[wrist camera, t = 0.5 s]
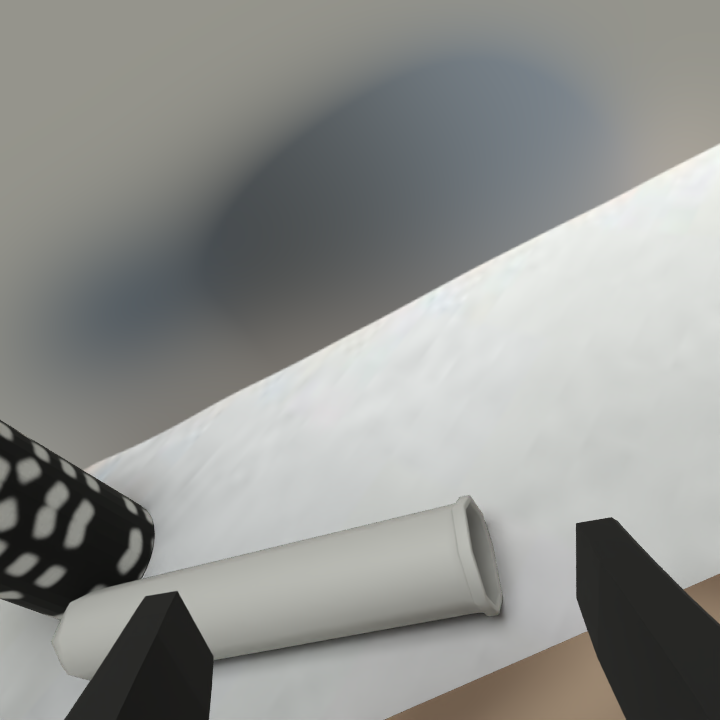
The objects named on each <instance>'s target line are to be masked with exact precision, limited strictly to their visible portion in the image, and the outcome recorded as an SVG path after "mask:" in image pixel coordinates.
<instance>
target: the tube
mask: <svg viewBox="0 0 720 720" xmlns="http://www.w3.org/2000/svg"><path fill="white" fill-rule="evenodd" d="M173 591H178V593H179V595H180V596H181V598H182V600H183V602H184V604H185V605H186V607H187V609H188V611H189V613H190V614H191V616H192V618H193V620H194V622H195V624H196V625H197V627H198V629H199V631H200V633H201V634H202V636H203V638H204V640H205V642H206V643H207V645H208V647H209V649H210V651H211V653H212V654H213V656H214V660H218V659H223V658H229V657H234V656H240V655H245V654H251V653H256V652H262V651H267V650H273V649H279V648H284V647H290V646H295V645H301V644H306V643H312V642H317V641H323V640H329V639H334V638H340V637H345V636H351V635H356V634H362V633H367V632H373V631H378V630H384V629H390V628H395V627H401V626H406V625H412V624H417V623H423V622H428V621H434V620H439V619H445V618H451V617H456V616H462V615H467V614H473V613H485V614H486V615H487V616H488V617H489V616H495V615H498V614H499V613H500V608H501V604H502V599H503V596H502V591H501V585H500V580H499V575H498V570H497V565H496V559H495V554H494V549H493V545H492V542H491V539H490V536H489V533H488V529H487V526H486V523H485V520H484V517H483V513H482V512H481V510H480V509H479V507H478V506H477V505H476V503H475V502H474V500H473V499H472V497H471V496H470V495H467V496H463V497H459V499H458V500H457V501H456V503H454V504H451V505H447V506H443V507H439V508H434V509H430V510H426V511H422V512H418V513H414V514H410V515H405V516H401V517H397V518H393V519H389V520H385V521H381V522H376V523H372V524H368V525H364V526H360V527H356V528H351V529H347V530H343V531H339V532H335V533H331V534H327V535H322V536H318V537H314V538H310V539H306V540H302V541H298V542H293V543H289V544H285V545H281V546H277V547H273V548H269V549H264V550H260V551H256V552H252V553H248V554H244V555H239V556H235V557H231V558H227V559H223V560H219V561H215V562H210V563H206V564H202V565H198V566H194V567H190V568H186V569H181V570H177V571H173V572H169V573H165V574H161V575H156V576H152V577H148V578H144V579H140V580H136V581H132V582H127V583H123V584H119V585H115V586H111V587H107V588H103V589H98V590H95V591H93V592H91V593H89V594H87V595H85V596H82V597H80V598H78V599H76V600H74V601H72V602H70V603H69V605H68V607H67V609H66V611H65V612H64V614H63V616H62V619H61V621H60V623H59V625H58V628H57V630H56V632H55V634H54V636H53V639H52V641H51V642H52V645H53V647H54V649H55V652H56V654H57V656H58V658H59V661H60V663H61V665H62V667H63V668H64V670H65V671H66V673H67V674H68V675H71V676H75V677H79V678H82V679H86V680H90V681H91V679H92V678H93V676H94V674H95V673H96V671H97V670H98V668H99V667H100V665H101V664H102V662H103V660H104V659H105V657H106V656H107V654H108V653H109V651H110V650H111V648H112V646H113V645H114V643H115V642H116V640H117V639H118V637H119V636H120V634H121V632H122V631H123V629H124V628H125V626H126V625H127V623H128V621H129V620H130V618H131V617H132V615H133V614H134V612H135V611H136V609H137V608H138V606H139V605H140V603H141V602H142V600H143V599H144V597H145V596H149V595H155V594H161V593H167V592H173Z"/></svg>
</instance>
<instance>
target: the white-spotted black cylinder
mask: <svg viewBox="0 0 720 720" xmlns="http://www.w3.org/2000/svg"><path fill="white" fill-rule="evenodd" d="M153 542H154V525H153V522H152V519H151V516H150V515H149V513H148V512H147V510H146V509H144V508H143V507H142V506H141V505H139V504H137V503H136V502H134V501H132V500H131V499H129V498H127V497H126V496H124V495H123V494H121V493H119V492H118V491H116V490H114V489H113V488H111V487H109V486H108V485H106V484H104V483H103V482H101V481H100V480H98V479H96V478H95V477H93V476H91V475H90V474H88V473H86V472H85V471H83V470H81V469H80V468H78V467H77V466H75V465H73V464H71V463H70V462H68V461H67V460H65V459H63V458H62V457H60V456H58V455H57V454H55V453H53V452H52V451H50V450H49V449H47V448H45V447H44V446H42V445H40V444H39V443H37V442H35V441H34V440H32V439H30V438H29V437H27V436H25V435H24V434H22V433H21V432H19V431H17V430H16V429H14V428H12V427H11V426H9V425H7V424H6V423H4V422H3V421H1V420H0V599H3V600H5V601H8V602H11V603H14V604H17V605H20V606H22V607H25V608H28V609H31V610H34V611H36V612H39V613H42V614H45V615H48V616H50V617H53V618H56V619H59V620H61V619H62V616H63V614H64V612H65V611H66V609H67V607H68V605H69V603H70V602H72V601H74V600H76V599H78V598H80V597H82V596H85V595H87V594H89V593H91V592H93V591H95V590H98V589H103V588H107V587H111V586H115V585H119V584H123V583H127V582H132V581H136V580H140V579H141V577H142V575H143V573H144V572H145V569H146V567H147V564H148V562H149V560H150V556H151V552H152V549H153Z"/></svg>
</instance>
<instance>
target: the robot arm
mask: <svg viewBox="0 0 720 720" xmlns="http://www.w3.org/2000/svg"><path fill="white" fill-rule="evenodd" d="M576 598H577V601H578V604H579V607H580V610H581V613H582V616H583V619H584V621H585V624H586V627H587V630H588V633H589V636H590V639H591V641H592V644H593V647H594V650H595V653H596V655H597V658H598V660H599V662H600V665H601V667H602V669H603V671H604V673H605V675H606V678H607V680H608V682H609V684H610V686H611V688H612V691H613V693H614V695H615V697H616V699H617V701H618V703H619V706H620V708H621V710H622V712H623V714H624V716H625V718H626V720H720V624H719V623H718V622H717V621H716V620H715V619H714V618H713V617H712V616H711V615H710V614H708V613H707V612H706V611H705V610H704V609H703V608H702V607H701V606H700V605H699V604H698V603H697V602H696V601H695V600H694V599H692V598H691V597H690V596H689V595H688V594H687V593H686V592H685V591H684V590H683V589H682V588H681V587H680V586H679V585H678V584H677V583H676V582H675V581H674V580H673V579H672V578H671V577H670V576H669V575H668V574H667V573H666V572H665V571H664V570H663V569H662V568H661V567H660V566H659V565H658V564H657V563H656V562H655V561H654V560H653V559H652V558H651V557H650V555H649V554H648V553H647V552H646V551H645V550H644V549H643V548H642V547H641V546H640V545H639V544H638V543H637V542H636V541H635V540H634V539H633V537H632V536H631V535H630V534H629V533H628V532H627V531H626V530H625V529H624V528H623V527H622V525H621V524H620V523H619V522H618V521H617V520H615V519H613V518H612V517H611V518H605V519H599V520H593V521H587V522H581V523H576ZM213 660H214V656H213V654H212V653H211V651H210V649H209V647H208V645H207V643H206V642H205V640H204V638H203V636H202V634H201V633H200V631H199V629H198V627H197V625H196V624H195V622H194V620H193V618H192V616H191V614H190V613H189V611H188V609H187V607H186V605H185V604H184V602H183V600H182V598H181V596H180V595H179V593H178V591H173V592H167V593H161V594H155V595H149V596H145V597H144V599H143V600H142V602H141V603H140V605H139V606H138V608H137V609H136V611H135V612H134V614H133V615H132V617H131V618H130V620H129V621H128V623H127V625H126V626H125V628H124V629H123V631H122V632H121V634H120V636H119V637H118V639H117V640H116V642H115V643H114V645H113V646H112V648H111V650H110V651H109V653H108V654H107V656H106V657H105V659H104V660H103V662H102V664H101V665H100V667H99V668H98V670H97V671H96V673H95V674H94V676H93V678H92V679H91V681H90V682H89V684H88V685H87V687H86V688H85V690H84V691H83V693H82V694H81V696H80V697H79V699H78V700H77V702H76V703H75V705H74V706H73V708H72V709H71V711H70V712H69V714H68V715H67V716H66V718H65V719H64V720H209V712H210V701H211V690H212V675H213Z"/></svg>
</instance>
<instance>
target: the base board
mask: <svg viewBox="0 0 720 720" xmlns="http://www.w3.org/2000/svg"><path fill="white" fill-rule="evenodd" d="M684 591H685V592H686V593H687V594H688V595H689V596H690V597H691V598H692V599H694V600H695V601H696V602H697V603H698V604H699V605H700V606H701V607H702V608H703V609H704V610H705V611H706V612H707V613H708V614H710V615H711V616H712V617H713V618H714V619H715V620H716V621H717V622H718V623H719V624H720V574H718V575H716V576H713V577H711V578H709V579H707V580H704V581H702V582H700V583H697V584H695V585H693V586H690V587H688V588H686V589H684ZM385 720H626V718H625V716H624V714H623V712H622V710H621V708H620V706H619V703H618V701H617V699H616V697H615V695H614V693H613V691H612V688H611V686H610V684H609V682H608V680H607V678H606V675H605V673H604V671H603V669H602V667H601V665H600V662H599V660H598V658H597V655H596V653H595V650H594V647H593V644H592V641H591V639H590V636H589V633H588V631H587V632H585V633H582V634H580V635H578V636H576V637H573V638H571V639H569V640H566V641H564V642H562V643H559V644H557V645H555V646H553V647H550V648H548V649H546V650H543V651H541V652H539V653H536V654H534V655H532V656H530V657H527V658H525V659H523V660H520V661H518V662H516V663H514V664H511V665H509V666H507V667H504V668H502V669H500V670H497V671H495V672H493V673H491V674H488V675H486V676H484V677H481V678H479V679H477V680H474V681H472V682H470V683H468V684H465V685H463V686H461V687H458V688H456V689H454V690H451V691H449V692H447V693H445V694H442V695H440V696H438V697H435V698H433V699H431V700H428V701H426V702H424V703H422V704H419V705H417V706H415V707H412V708H410V709H408V710H406V711H403V712H401V713H399V714H396V715H394V716H392V717H389V718H387V719H385Z"/></svg>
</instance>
